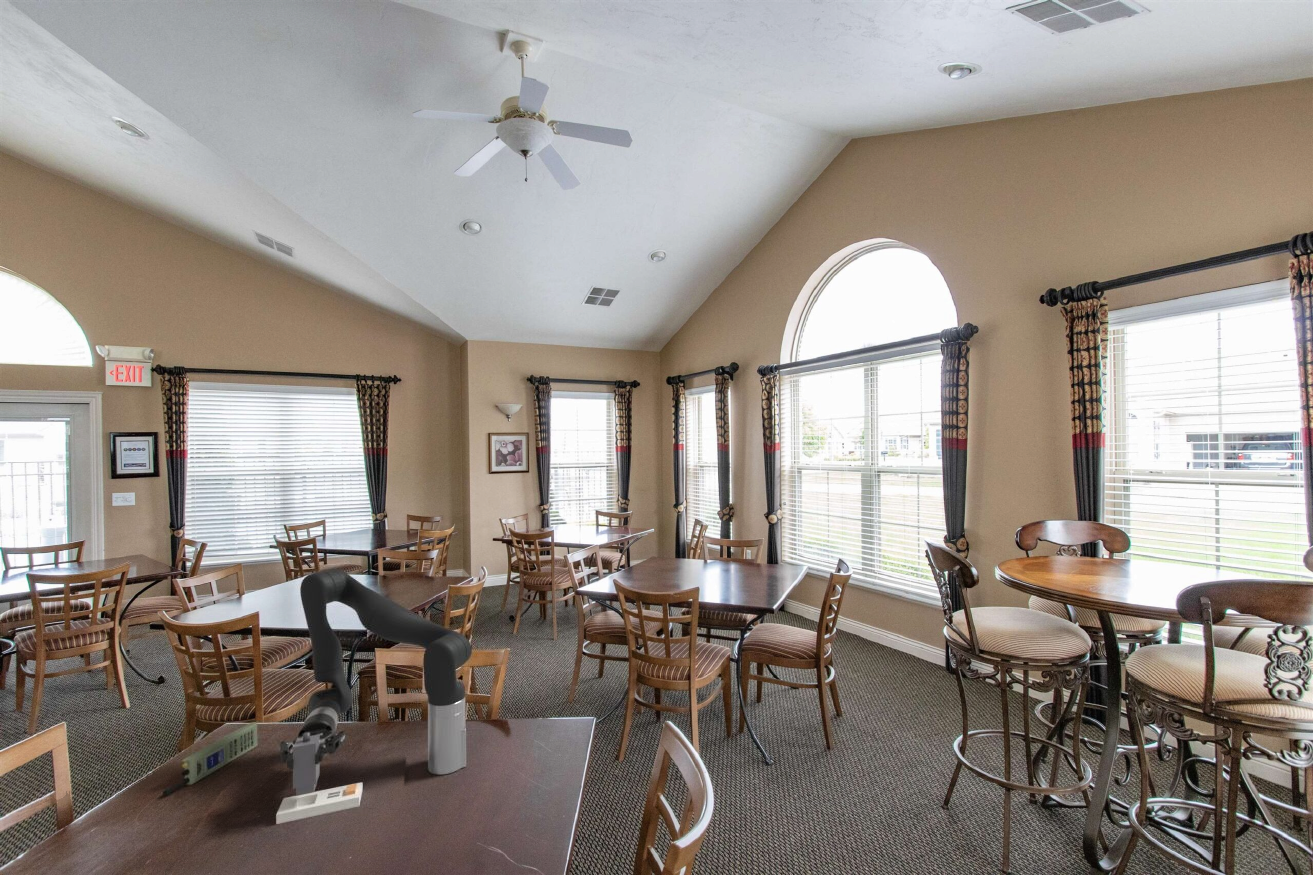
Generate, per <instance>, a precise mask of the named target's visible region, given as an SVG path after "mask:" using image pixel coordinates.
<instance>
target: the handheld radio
mask: <svg viewBox="0 0 1313 875" xmlns="http://www.w3.org/2000/svg"><path fill="white" fill-rule="evenodd" d="M258 744H259V743H258V722H250V723H248V724H246V725H244V726H242V727H240V728H239V729H237V730H234V731H233V732H231V733H229V734H227V735H225V736H224V737H222V738H219V739H218V740H216V741H214V742H212V743H210V744H208V745H206V746H205V747H203V748H201V749H200V750H197V751H196V752H193V753H192V754H190V755H188V756H186V757H185V758H184V759H182V760H181V762H184V763H182V764H181V765H182V768H184V770H183V771H182V772H181V776H182V777H184V778H183V780H182V781H179V782H177V783H176V784H174V785H172V786H170V787H168V788H166V789H165V790H163V791H162V796H164V797H167V796H168V795H170V794H171V793H174V792H175V791H177V790H179V789H180V788H181V787H183V786H185V785H189V786H190V785H194V784H195V783H197V782H198V781H199V782H200V781H201V779H204V778H205V777H207V776H209V775H211V774H212V773H214V772H215V771H217V770H219V769H220V768H222V767H224V766H225V765H227V764H229V763H230V762H232V761H234V760H236V759H238V758H240V757H241V756H242V755H243V756H244V755H245V754H246V753H248V752H249V751H251V750H253V749H254V748H257V747H258V746H259V745H258Z"/></svg>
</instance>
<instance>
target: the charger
mask: <svg viewBox="0 0 1313 875" xmlns="http://www.w3.org/2000/svg"><path fill="white" fill-rule="evenodd" d="M296 738H297V737H296ZM319 747H320V734H319V735H313V736H310V732H306V733H304V734H303V737H302V738H297V740H296V742H295V744H294V746H293V748H292V749H293V769H292V790H293V789H295V796H299V795H304V794H308V793H313V792H315V791H316V790H315V789H316V787H317V784H318V780H319V776H320V775H321V774H320V773H321V771H320V766H321V764H320V762H321V761H320V762H319V764H316V765H315V754H316V753H317V750H318V748H319Z"/></svg>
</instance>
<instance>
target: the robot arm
mask: <svg viewBox="0 0 1313 875" xmlns="http://www.w3.org/2000/svg"><path fill="white" fill-rule="evenodd" d="M299 590H300V592H299V593H300V600H301V604H302V608H303V613H304V616H305V617H304V618H305V620H306V626H307V629H308V632H309V636H310V641H311V649H312V662H313V663H312V664H313V678H314V680H315V682H316V683H324V684H325V683H326V684H331V685H333V686H334V687H331V688H326V689H321V690H317V691H315V692H314V693H312V694H311V695H310V697H309V699H308V704H307V705H308V706H307V708H308V713H309V714H308V716H307V717H306V718H305V720H304V723H303V724H302V726H301V728H300V729H299V730H300V731H299V732H298V735H297V736H296V738H294V740H293V741H292V742H286V741H285V740H282V741H280V742H279V756H280V757H279V758H280V761H281V763H282V764H285V763H286V766H285V767H286V769H287V768H288V770H293V746H294V744H295V742H296V740H297V738H302V737H303V734H304V733H306V732H310V736H313V735H319V734H320V747H319V748H318V750H317V753H316V754H315V765H316V764H319V762H323V760H324V758H325V756H327V754H329V755H332V754H334V753H336V752H337V751H338V750H339V749H340V748H341V746H343V744H344V743H345V742H346V732H345V730H341V731H339V732H338V733H336V731H337V727H338V721H339V718H340V715H341V714H344V713H346V712H348V710H350V709H351V707H352V704H353V694H352V691H351V688H350V686H349V684H348V682H347V679H346V675H345V672H344V662H343V648H342V644H341V642H340V639H339V637H338V636H337V635H336V633H335V631H334V630H333V628H332V627H331V625H330V623H329V619H328V616H327V604H331V603H334V602H339V603H341V604H342V605H343V604H344V605H345V606H347V607H349V608H351V609H352V610H353V611H355V612H356V615H357V616H358V619H359V622H360V623H361V625H362V627H364V628H365V629H366V630H367V631H369V632H371V633H372V634H374V635H376V636H377V637H380V639H381V638H382V639H384V640H386V641H391V642H393V643H400V644H408V645H413V646H418V647H421V648H423V649H425V651H424V654H423V661H422V663H423V664H422V665H423V667H422V668H423V682H424V684H423V685H424V690H425V693H426V695H427V757H428V758H427V770H428V772H429V773H431V774H434V775H447V774H451V773H455V772H456V771H459V770H461V769H462V768H466V767H467V728H466V685H465V684H464V683H463V682H461V681H458V680H457V669H459V668H461V667H462V666H463V665H465V664H466V663H467V662H468V661H469V660H470V658H471V656H472V651H473V649H472V645H471V643H470V641H469V639H468V637H466V636H465V635H463V634H462V633H461V632H458V631H456V630H453V629H451V628H448V627H445V626H442V625H440V624H437V623H435V622H433V621H431V620H429V619H427V618H425V617H424V616H422V615H420V614H417V613H415V612H413V611H412V610H409V609H408V608H406V607H404V606H403V605H402V604H399V603H398V602H396V601H394V600H392V599H389V598H388V597H385V596H384V595H382V594H380V593H378V592H376V591H375V590H373V589H371V588H368V587H367V586H365V585H364V584H363V583H361V582H359V580H357V579H356V578H355V577H354V576H353V577H352V576H351V575H350V574H349V573H347V572H346V571H344V570H341V569H338V568H330V569H329V568H328V569H325V570H320V571H316V572H312V573H310V574H308V575H306V576H305V577H304V578H303V579H302V581H301V584H300V589H299Z"/></svg>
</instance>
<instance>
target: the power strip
mask: <svg viewBox="0 0 1313 875" xmlns="http://www.w3.org/2000/svg"><path fill="white" fill-rule="evenodd" d="M362 794H363V782H356V783H352V784H347V785H343V786H336V787H333V788H327V789H322V790H317V791H316V790H315V791H314V792H313V793H308V794H304V795H299V796H296V795H292V796H288V797H284V798H283V799H282V801H281V803H280V805H279V808H278V810H277V811H276V815H275V819H276V821H275V822H276V823H275V824H276V825H278V824H283V823H288V822H289V823H290V822H292V821H299V820H302V819H303V820H304V819H307V818H311V817H316V816H321V815H326V814H330V813H335V812H339V811H344V810H348V809H353V808H359V807H360V805H361V804H360V803H361V798H362V796H363V795H362Z"/></svg>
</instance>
